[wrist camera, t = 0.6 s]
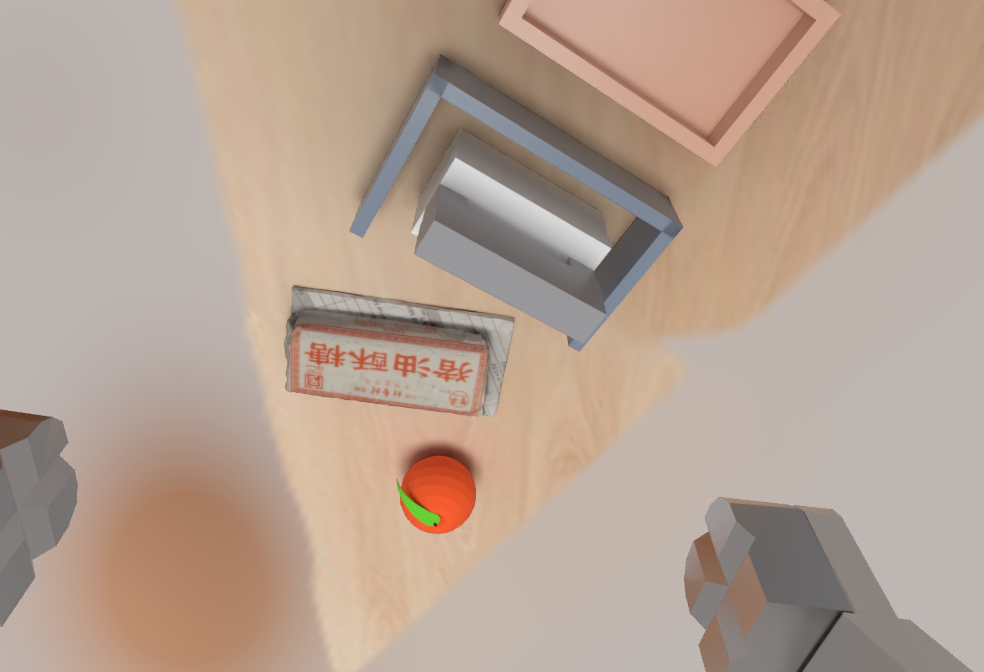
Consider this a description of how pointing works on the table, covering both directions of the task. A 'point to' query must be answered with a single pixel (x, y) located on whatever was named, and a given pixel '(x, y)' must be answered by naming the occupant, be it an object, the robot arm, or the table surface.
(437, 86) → the slate bay
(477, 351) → the packaged product
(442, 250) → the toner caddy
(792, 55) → the terracotta tray
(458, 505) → the clementine
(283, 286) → the table surface
